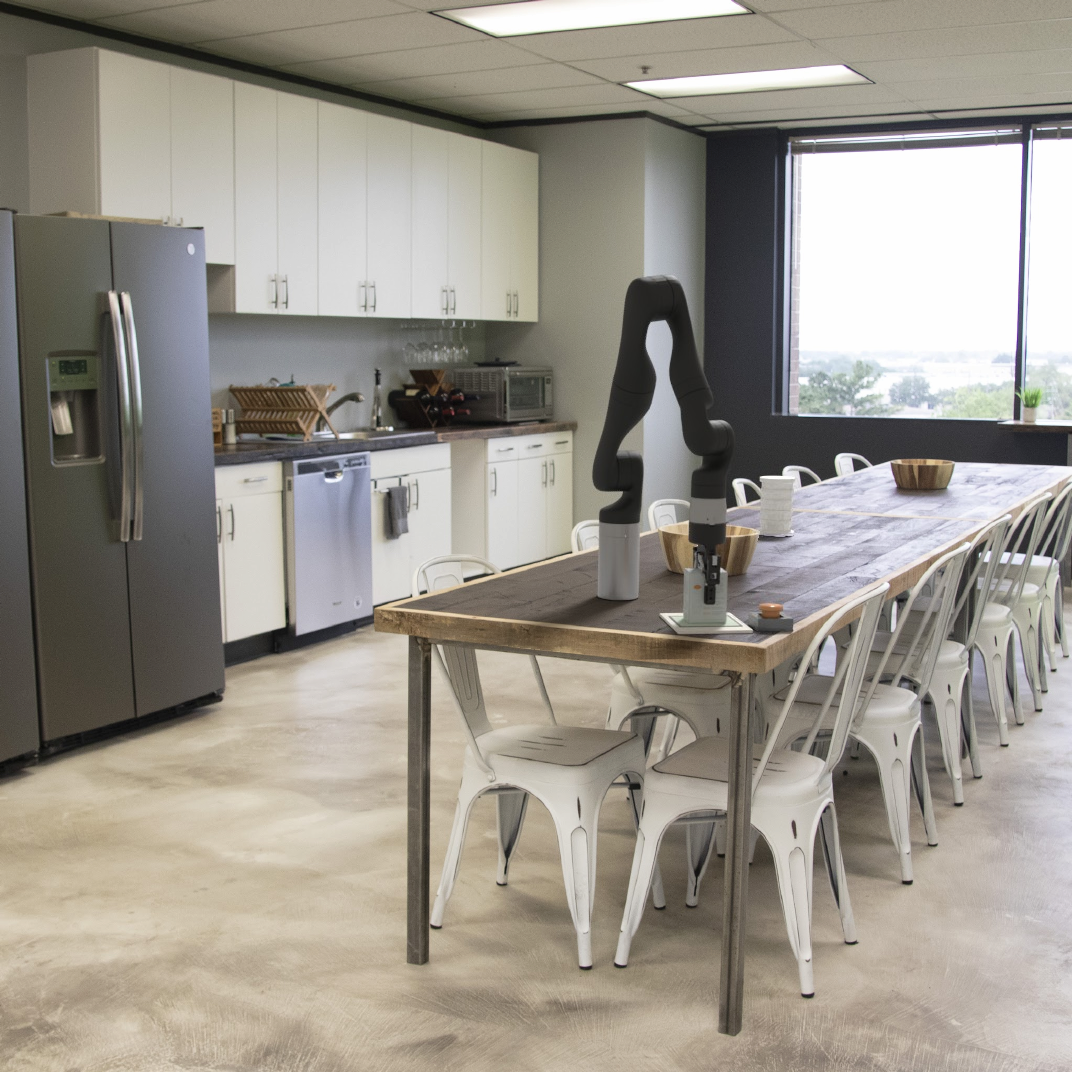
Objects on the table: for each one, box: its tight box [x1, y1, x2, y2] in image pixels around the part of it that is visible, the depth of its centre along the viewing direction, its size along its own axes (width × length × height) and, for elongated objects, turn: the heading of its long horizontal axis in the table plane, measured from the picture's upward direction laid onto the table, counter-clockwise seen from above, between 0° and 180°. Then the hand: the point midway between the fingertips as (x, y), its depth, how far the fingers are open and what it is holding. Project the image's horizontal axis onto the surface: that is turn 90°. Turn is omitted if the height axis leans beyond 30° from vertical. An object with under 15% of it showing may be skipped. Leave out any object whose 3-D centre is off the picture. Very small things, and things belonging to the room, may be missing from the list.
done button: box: [758, 602, 784, 618], centre depth 256 cm, size 5×5×3 cm
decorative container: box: [757, 475, 796, 535], centre depth 396 cm, size 12×12×18 cm
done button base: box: [747, 611, 794, 632], centre depth 257 cm, size 7×7×2 cm
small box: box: [682, 567, 729, 623], centre depth 259 cm, size 8×6×10 cm
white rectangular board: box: [659, 611, 754, 635], centre depth 259 cm, size 18×15×1 cm
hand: (705, 600), depth 259 cm, fingers open, 6 cm apart
